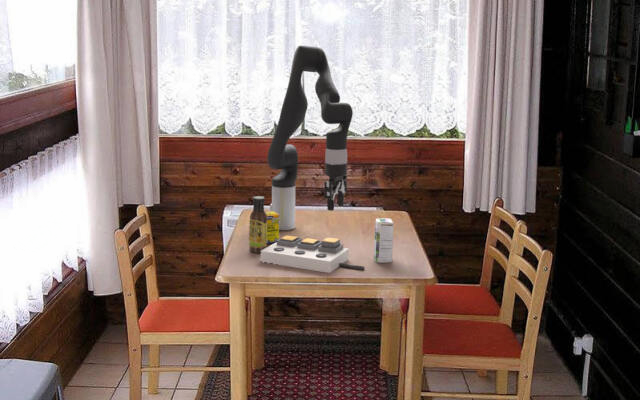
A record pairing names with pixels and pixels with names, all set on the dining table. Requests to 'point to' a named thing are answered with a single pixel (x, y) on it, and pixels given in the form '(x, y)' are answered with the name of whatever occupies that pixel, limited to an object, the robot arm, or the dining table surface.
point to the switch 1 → (289, 238)
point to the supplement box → (272, 227)
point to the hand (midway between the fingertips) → (335, 207)
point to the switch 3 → (331, 242)
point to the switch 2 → (310, 241)
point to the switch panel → (307, 256)
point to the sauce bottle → (258, 226)
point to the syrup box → (383, 240)
